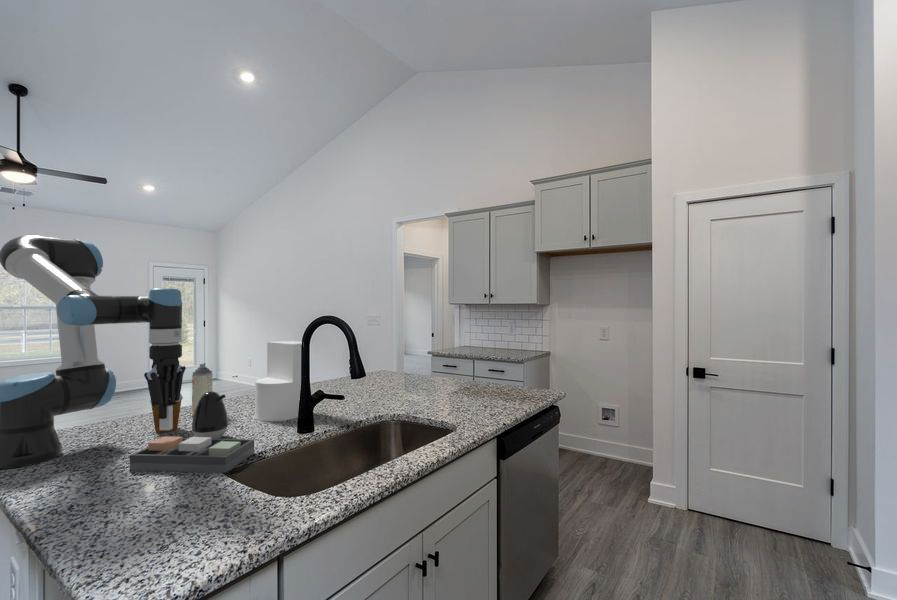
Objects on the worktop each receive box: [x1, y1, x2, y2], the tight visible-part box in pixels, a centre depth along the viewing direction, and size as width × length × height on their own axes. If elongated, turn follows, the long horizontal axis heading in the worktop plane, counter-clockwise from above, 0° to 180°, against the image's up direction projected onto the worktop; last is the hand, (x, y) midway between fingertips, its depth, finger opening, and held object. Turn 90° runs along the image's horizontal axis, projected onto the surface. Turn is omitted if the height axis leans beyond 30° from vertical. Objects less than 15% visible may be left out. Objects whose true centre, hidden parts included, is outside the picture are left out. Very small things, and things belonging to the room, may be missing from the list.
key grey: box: [178, 436, 211, 451], centre depth 116 cm, size 6×6×2 cm
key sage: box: [209, 441, 241, 456], centre depth 116 cm, size 6×6×2 cm
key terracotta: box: [148, 435, 183, 451], centre depth 117 cm, size 6×6×2 cm
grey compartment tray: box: [129, 437, 255, 474], centre depth 116 cm, size 26×14×4 cm, turn 86°
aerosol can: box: [191, 363, 213, 418], centre depth 164 cm, size 7×7×20 cm
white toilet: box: [254, 340, 303, 422], centre depth 164 cm, size 17×17×28 cm
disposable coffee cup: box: [149, 392, 184, 434], centre depth 145 cm, size 10×10×12 cm
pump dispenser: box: [191, 390, 229, 439], centre depth 136 cm, size 10×10×15 cm
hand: (166, 429), depth 117 cm, fingers closed
